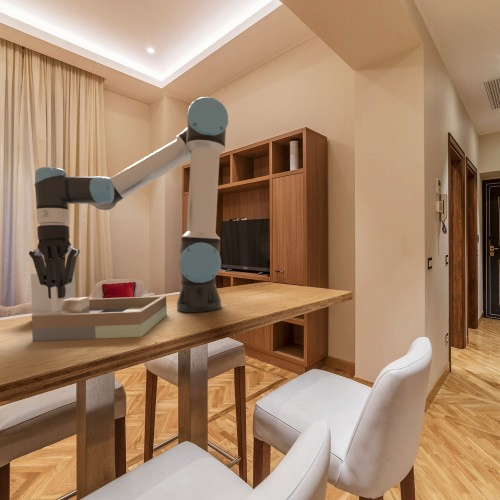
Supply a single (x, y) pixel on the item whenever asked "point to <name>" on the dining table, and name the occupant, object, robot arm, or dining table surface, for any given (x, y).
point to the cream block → (75, 305)
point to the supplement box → (41, 299)
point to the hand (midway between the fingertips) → (57, 309)
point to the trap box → (103, 320)
